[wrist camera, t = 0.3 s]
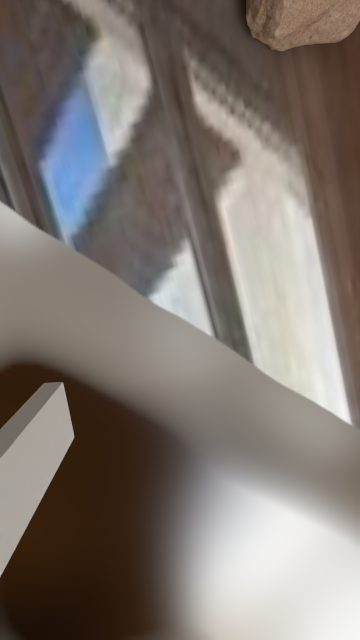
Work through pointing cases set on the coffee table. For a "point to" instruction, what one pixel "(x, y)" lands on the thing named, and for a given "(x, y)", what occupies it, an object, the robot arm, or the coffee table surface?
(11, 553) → the robot arm
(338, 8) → the stone
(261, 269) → the coffee table surface
